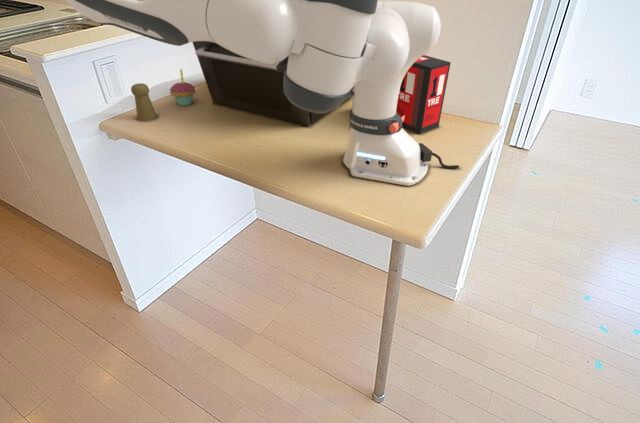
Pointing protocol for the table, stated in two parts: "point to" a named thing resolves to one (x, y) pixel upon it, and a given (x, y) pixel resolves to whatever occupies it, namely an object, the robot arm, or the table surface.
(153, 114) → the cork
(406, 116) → the cleaning product box
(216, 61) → the oven door
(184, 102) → the cupcake
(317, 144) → the table surface
